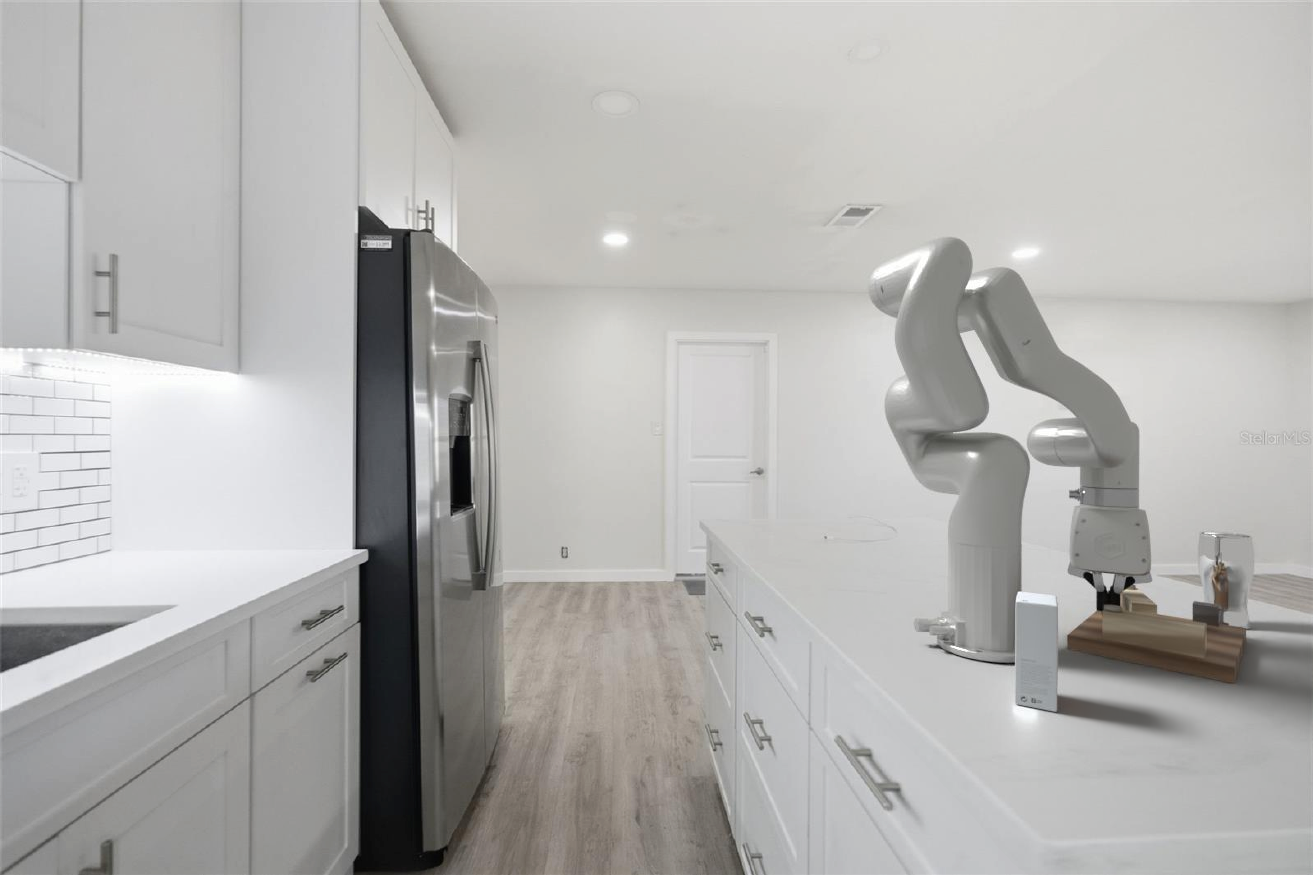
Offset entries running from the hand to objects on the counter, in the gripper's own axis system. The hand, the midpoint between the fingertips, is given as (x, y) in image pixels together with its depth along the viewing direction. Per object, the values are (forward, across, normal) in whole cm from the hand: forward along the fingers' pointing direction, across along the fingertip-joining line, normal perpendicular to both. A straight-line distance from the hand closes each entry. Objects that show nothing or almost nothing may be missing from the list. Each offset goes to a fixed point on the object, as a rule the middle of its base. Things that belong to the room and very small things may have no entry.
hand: (1108, 616), depth 97 cm
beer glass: (+3, +17, +18) cm, 25 cm away
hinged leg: (+1, +4, +3) cm, 5 cm away
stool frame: (+3, +6, -1) cm, 7 cm away
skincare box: (+4, -9, -34) cm, 36 cm away
